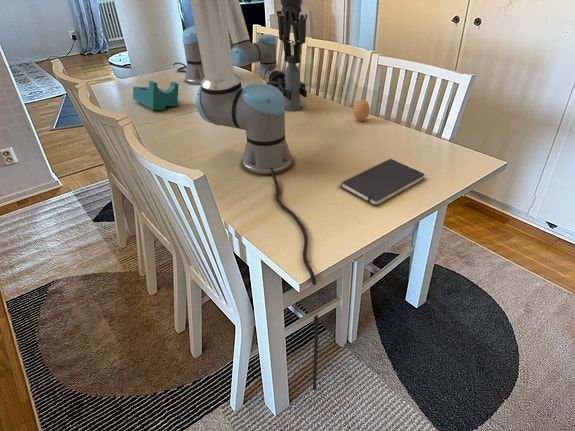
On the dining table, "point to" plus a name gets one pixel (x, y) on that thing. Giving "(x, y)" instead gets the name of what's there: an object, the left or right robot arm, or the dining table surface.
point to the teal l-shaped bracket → (156, 96)
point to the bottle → (293, 86)
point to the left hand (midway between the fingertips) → (298, 95)
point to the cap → (290, 59)
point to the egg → (361, 110)
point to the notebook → (382, 181)
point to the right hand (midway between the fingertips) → (292, 61)
